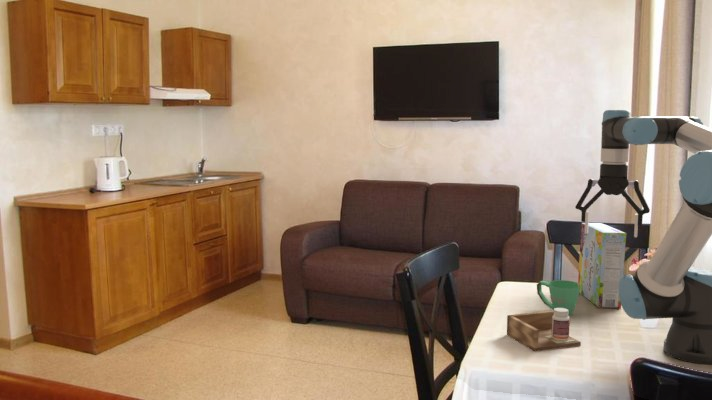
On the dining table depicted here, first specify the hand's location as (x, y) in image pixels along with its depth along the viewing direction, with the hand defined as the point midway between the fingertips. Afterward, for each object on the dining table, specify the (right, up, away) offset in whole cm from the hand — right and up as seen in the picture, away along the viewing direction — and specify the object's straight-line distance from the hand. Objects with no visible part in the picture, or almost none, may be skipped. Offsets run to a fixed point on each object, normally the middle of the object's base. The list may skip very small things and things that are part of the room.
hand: (610, 234), depth 189 cm
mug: (-10, -27, +19) cm, 34 cm away
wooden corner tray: (-22, -30, -6) cm, 38 cm away
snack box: (+9, -25, +34) cm, 43 cm away
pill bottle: (-18, -29, -8) cm, 35 cm away
